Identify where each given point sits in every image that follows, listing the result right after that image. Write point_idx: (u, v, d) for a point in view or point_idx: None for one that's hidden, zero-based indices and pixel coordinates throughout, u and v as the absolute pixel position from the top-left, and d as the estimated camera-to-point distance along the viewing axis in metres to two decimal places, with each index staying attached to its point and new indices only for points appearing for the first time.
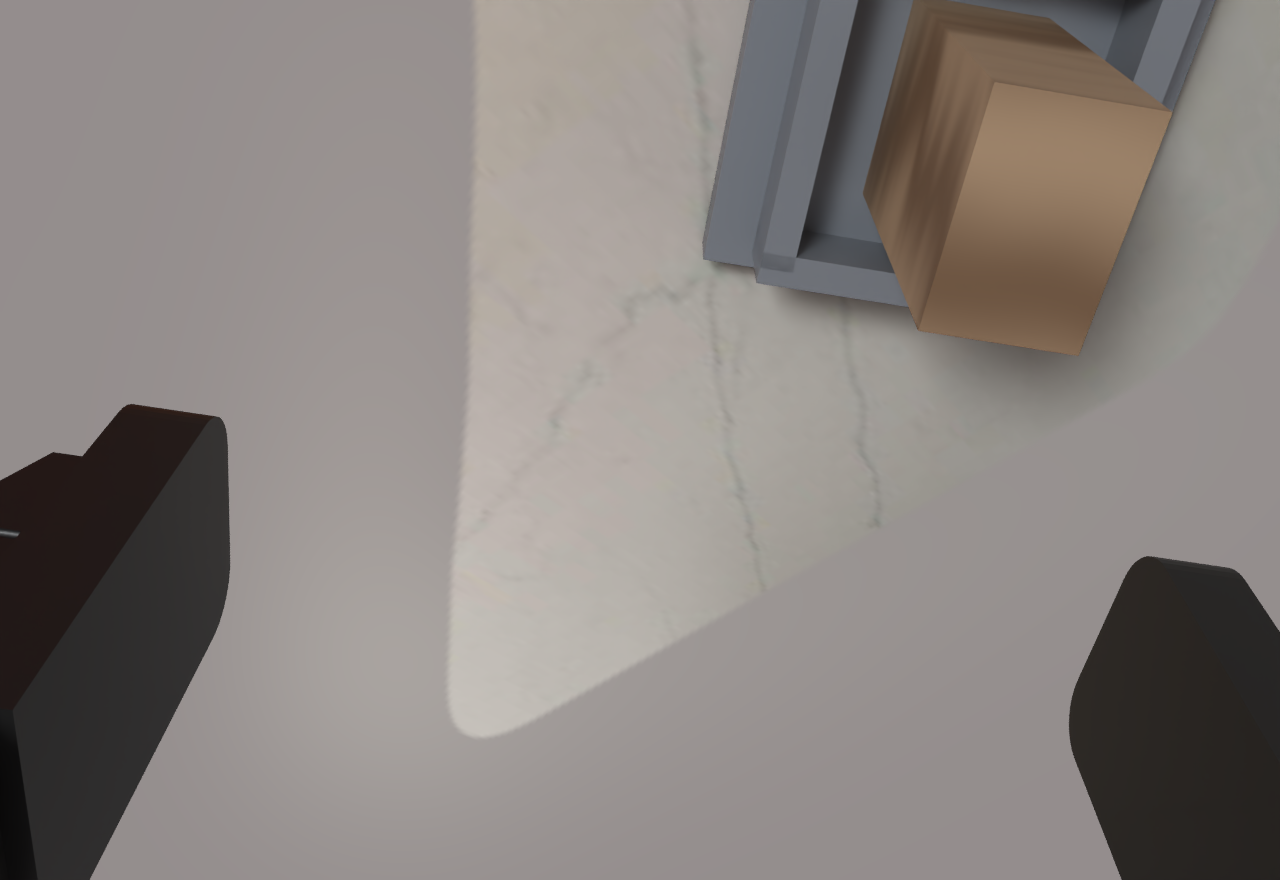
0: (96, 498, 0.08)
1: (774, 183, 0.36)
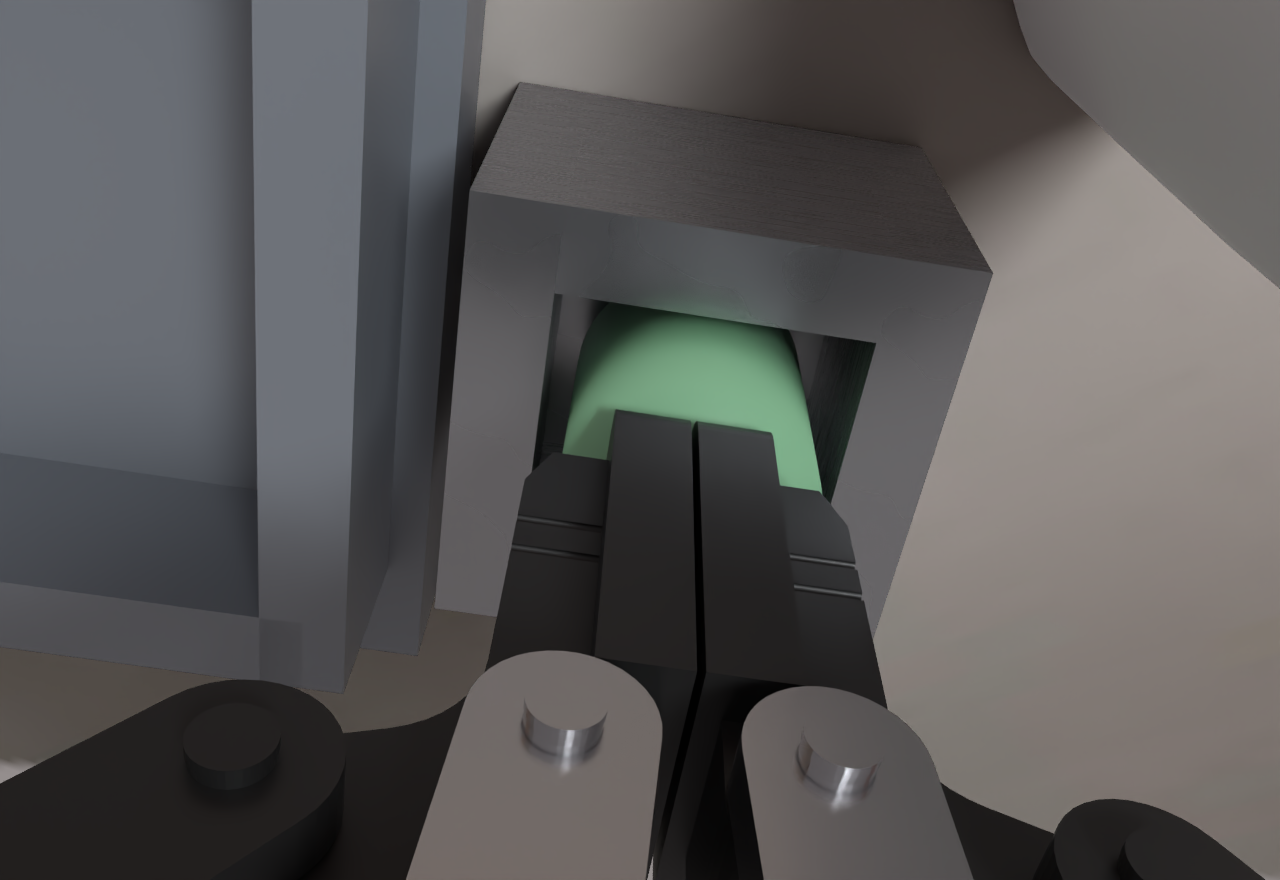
0: (646, 492, 0.10)
1: None
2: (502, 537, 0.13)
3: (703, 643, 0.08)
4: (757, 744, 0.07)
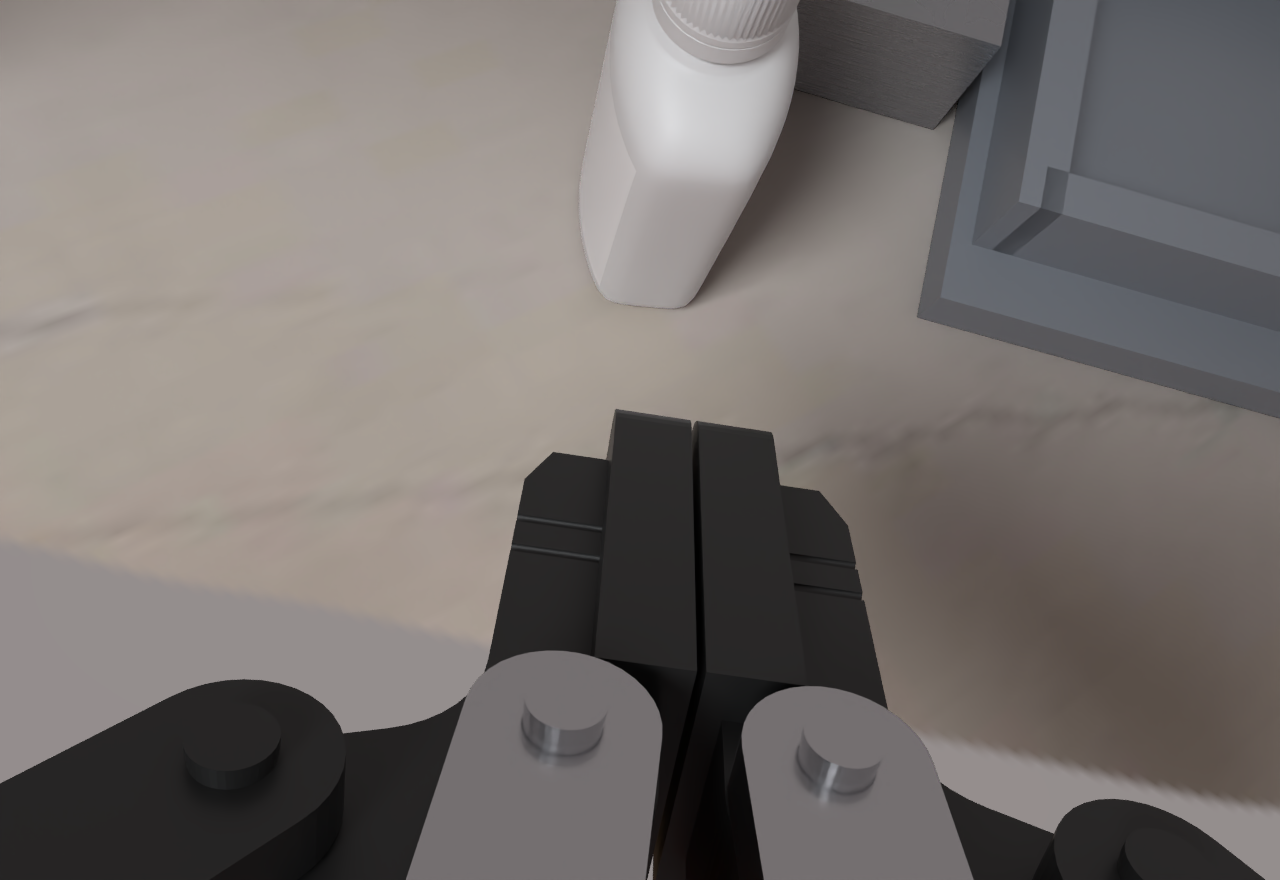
0: (646, 492, 0.10)
1: None
2: None
3: (703, 643, 0.08)
4: (759, 744, 0.07)
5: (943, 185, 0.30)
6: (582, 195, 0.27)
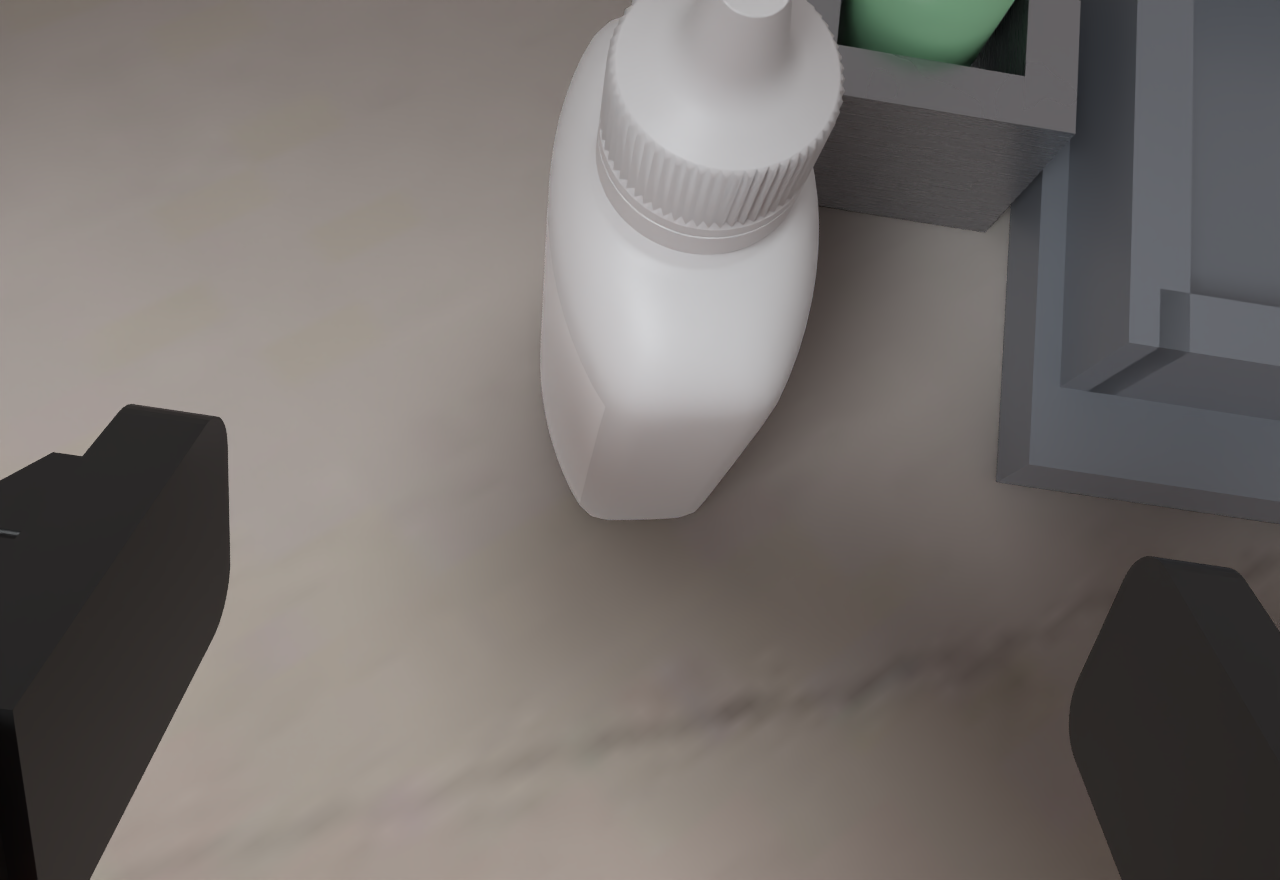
0: (97, 498, 0.08)
1: None
2: None
3: None
4: None
5: (1007, 304, 0.23)
6: (543, 388, 0.21)
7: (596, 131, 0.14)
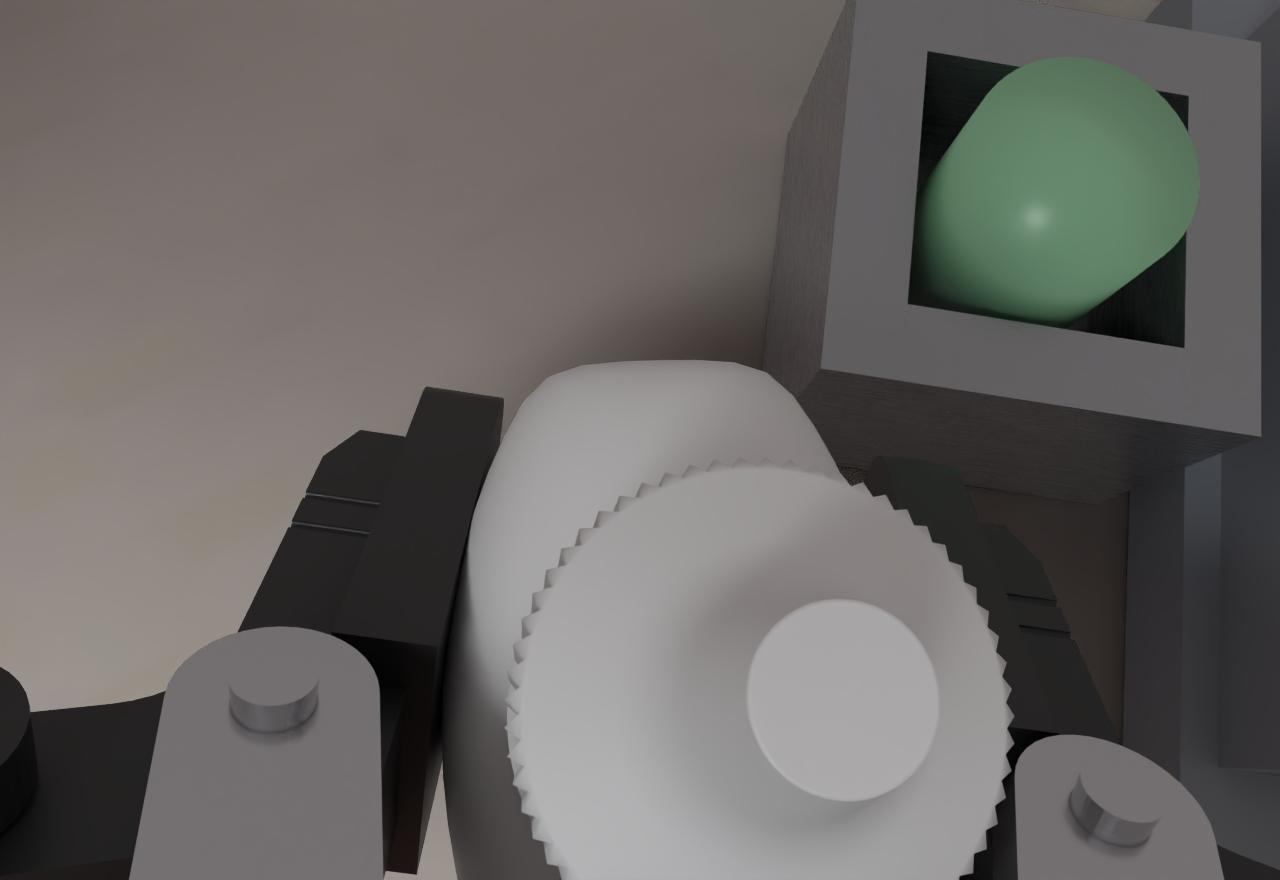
0: (434, 468, 0.09)
1: None
2: (1205, 115, 0.14)
3: None
4: (1030, 780, 0.07)
5: (1130, 611, 0.17)
6: None
7: (515, 640, 0.08)
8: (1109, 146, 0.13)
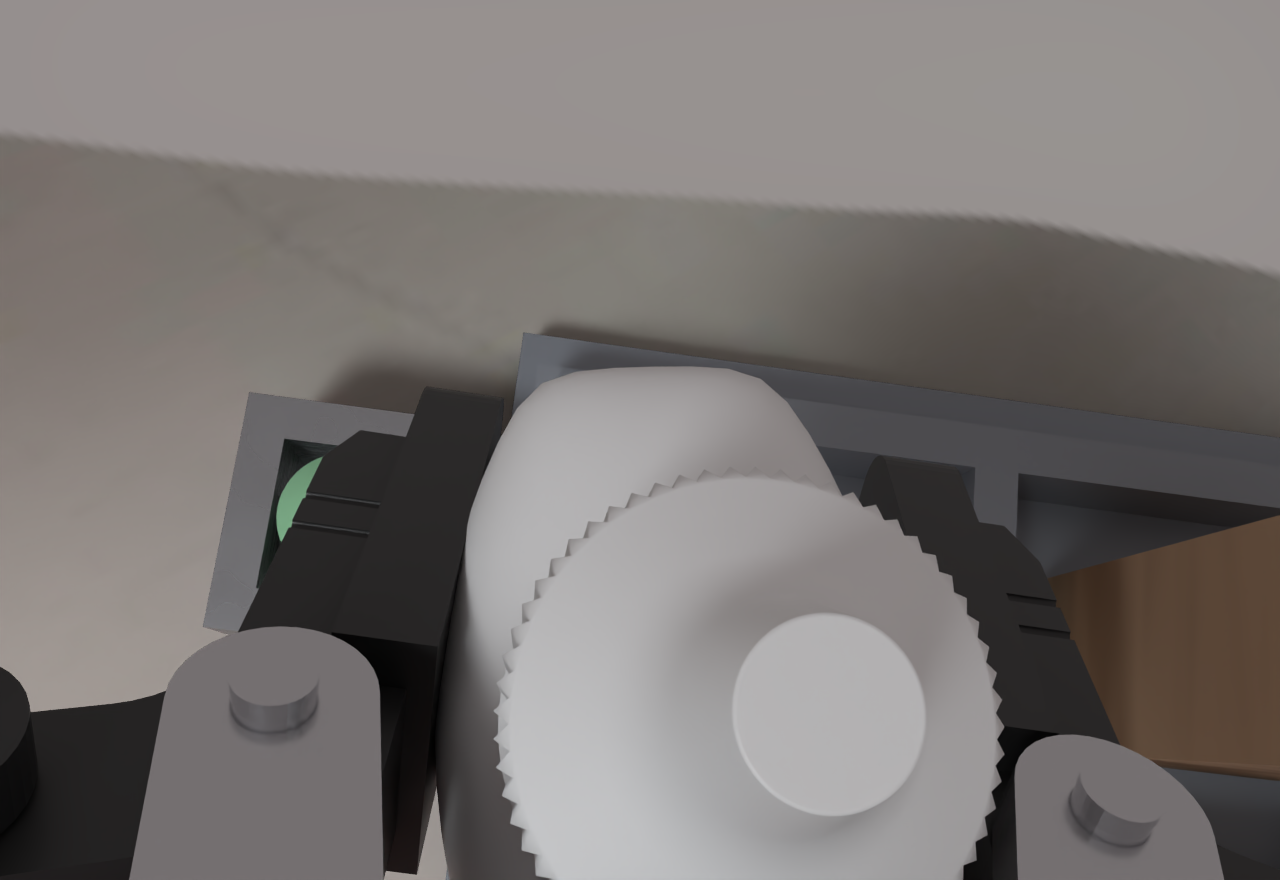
0: (434, 468, 0.09)
1: None
2: None
3: None
4: (1030, 780, 0.07)
5: None
6: None
7: (508, 648, 0.08)
8: None
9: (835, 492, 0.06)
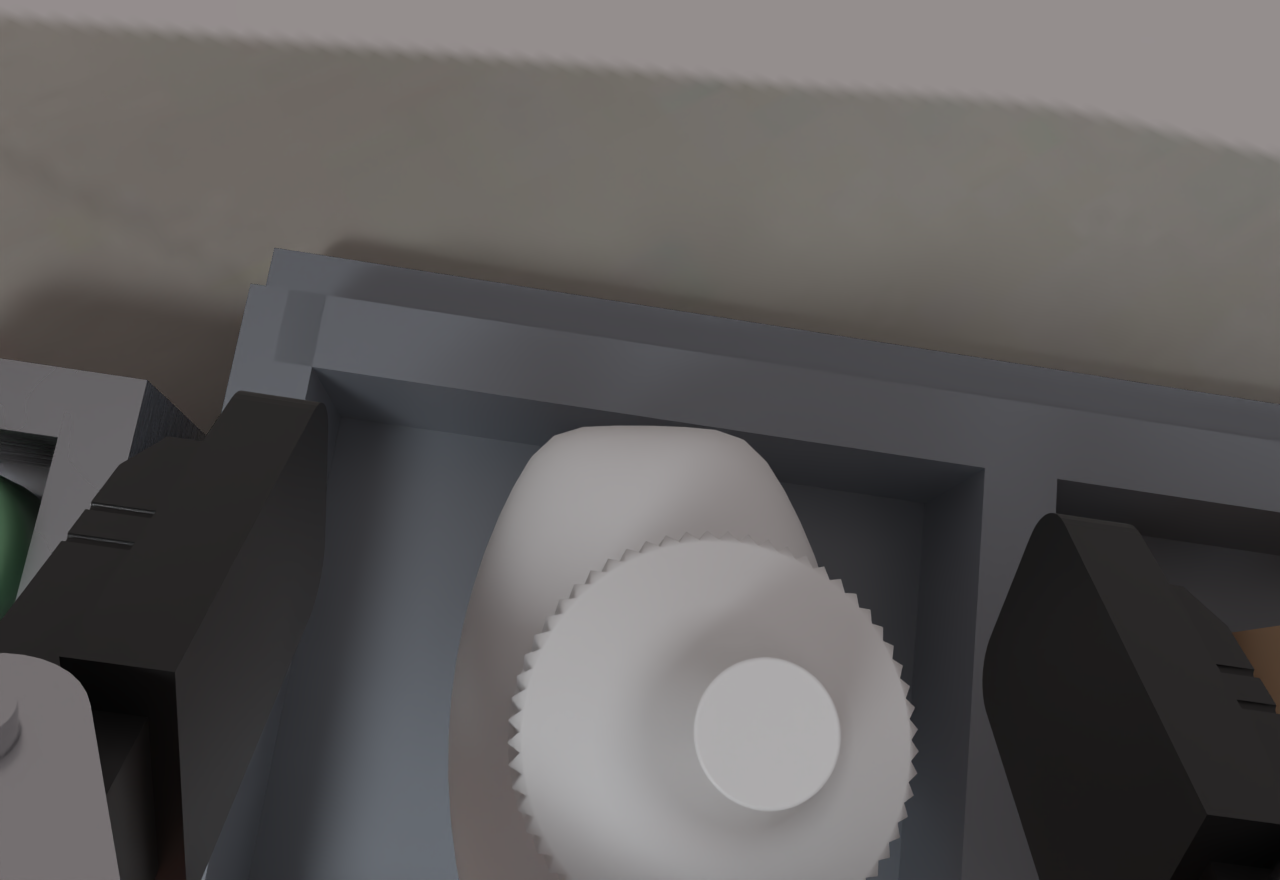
0: (223, 478, 0.09)
1: None
2: (71, 456, 0.15)
3: (1185, 779, 0.08)
4: None
5: None
6: None
7: (517, 667, 0.09)
8: None
9: (791, 555, 0.07)
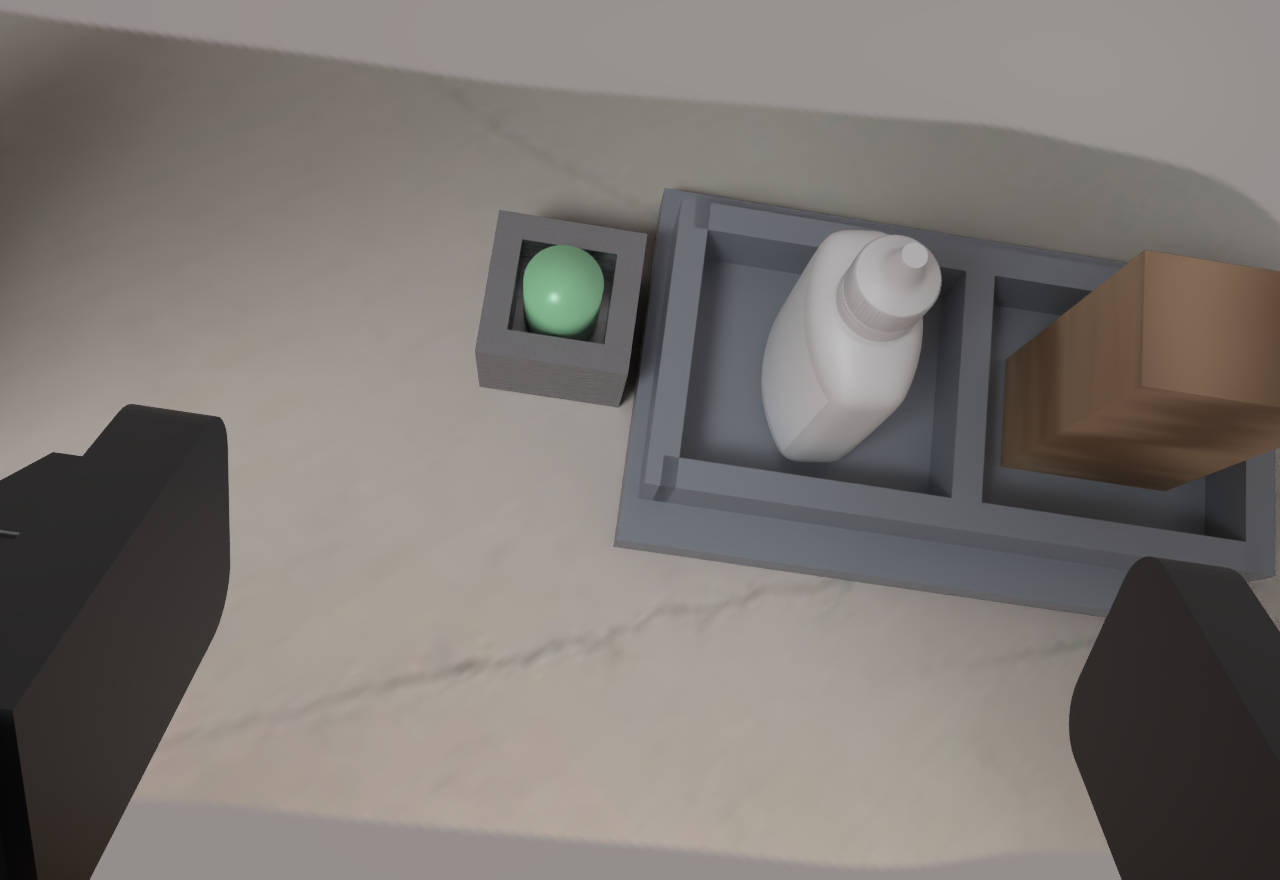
0: (96, 498, 0.08)
1: None
2: (623, 261, 0.40)
3: None
4: None
5: (627, 448, 0.42)
6: (768, 392, 0.40)
7: (833, 286, 0.34)
8: (573, 276, 0.39)
9: (913, 239, 0.32)
